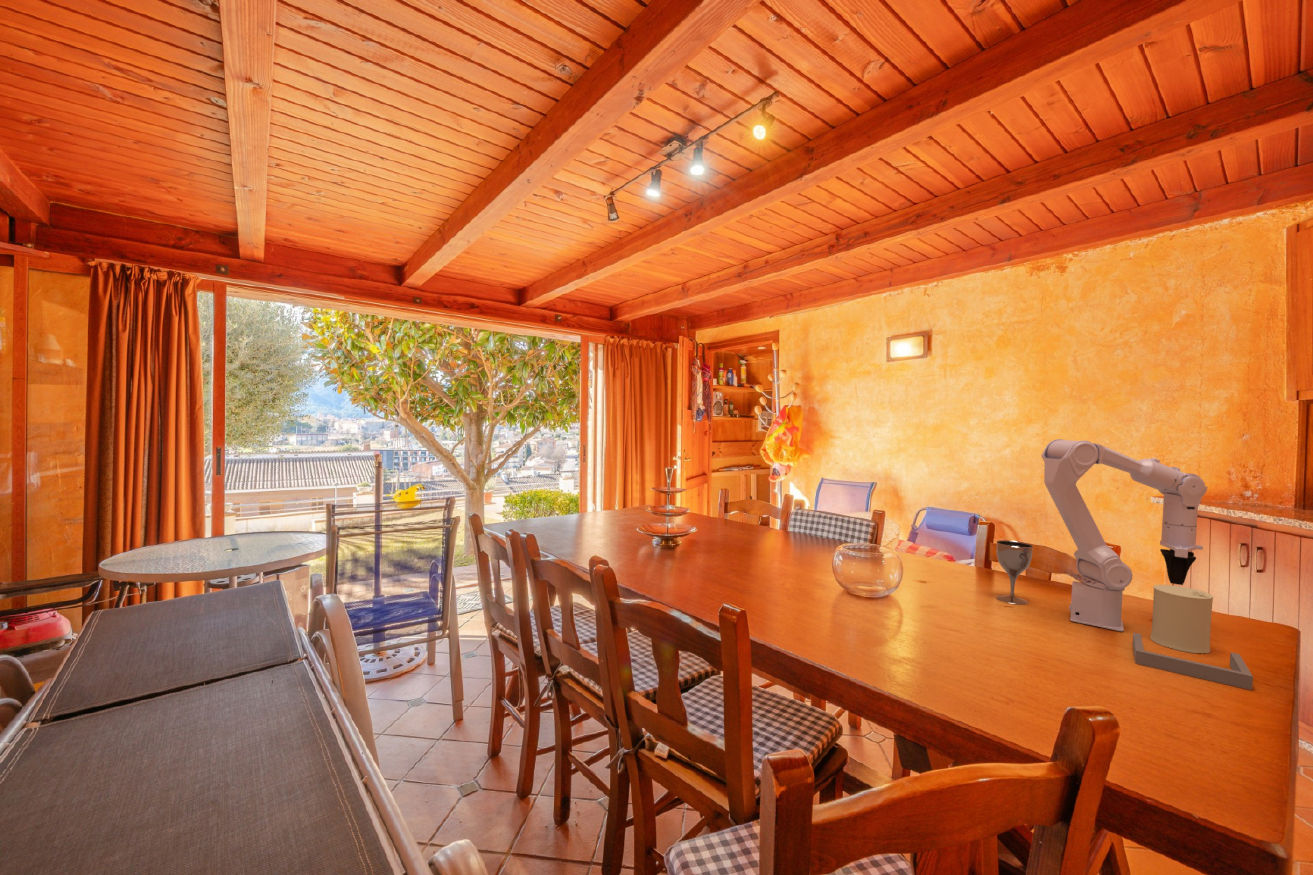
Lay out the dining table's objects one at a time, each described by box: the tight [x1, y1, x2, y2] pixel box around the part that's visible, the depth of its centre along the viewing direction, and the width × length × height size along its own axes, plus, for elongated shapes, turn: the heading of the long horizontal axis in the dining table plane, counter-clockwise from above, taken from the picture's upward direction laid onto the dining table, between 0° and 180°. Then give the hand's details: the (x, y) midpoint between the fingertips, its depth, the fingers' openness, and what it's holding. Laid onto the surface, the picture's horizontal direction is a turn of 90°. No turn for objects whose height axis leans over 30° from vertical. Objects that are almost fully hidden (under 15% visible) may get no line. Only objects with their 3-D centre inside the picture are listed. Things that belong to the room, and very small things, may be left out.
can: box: [1149, 584, 1214, 655], centre depth 114 cm, size 9×9×12 cm
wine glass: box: [995, 539, 1034, 606], centre depth 141 cm, size 8×8×15 cm
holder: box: [1132, 632, 1254, 691], centre depth 104 cm, size 15×12×2 cm
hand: (1175, 582), depth 124 cm, fingers closed
